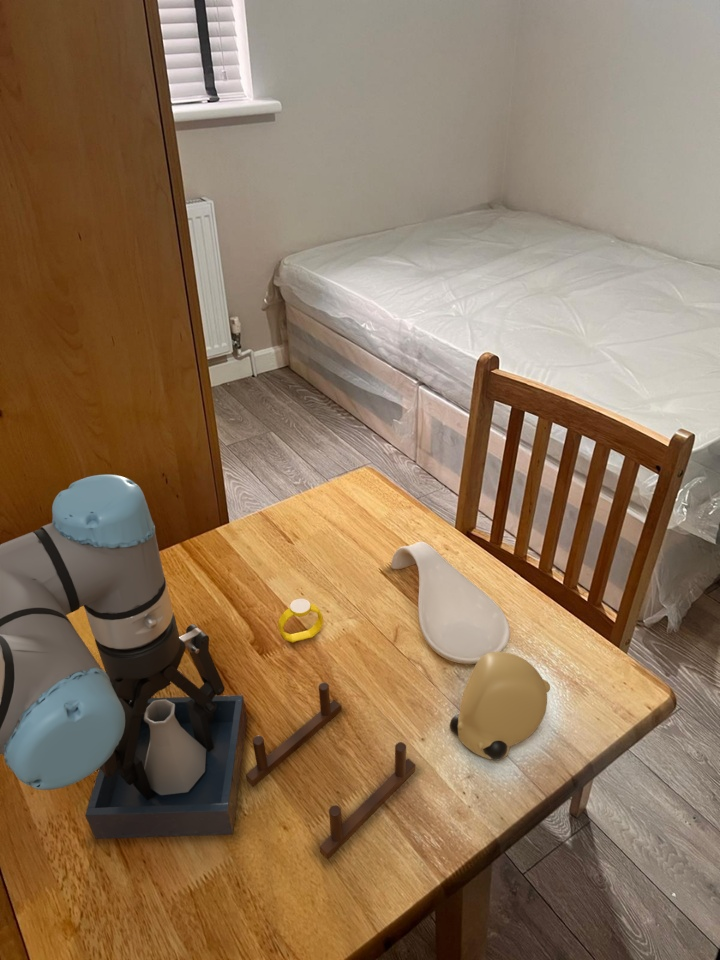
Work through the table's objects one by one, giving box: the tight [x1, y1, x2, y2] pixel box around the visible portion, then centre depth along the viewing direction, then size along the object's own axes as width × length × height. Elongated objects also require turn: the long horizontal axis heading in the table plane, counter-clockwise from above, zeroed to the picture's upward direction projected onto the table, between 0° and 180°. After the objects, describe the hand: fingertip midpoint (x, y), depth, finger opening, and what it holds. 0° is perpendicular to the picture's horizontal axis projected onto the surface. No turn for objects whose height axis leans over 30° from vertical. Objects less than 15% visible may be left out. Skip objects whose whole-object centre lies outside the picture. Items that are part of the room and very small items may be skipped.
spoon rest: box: [390, 541, 511, 665], centre depth 101 cm, size 24×12×7 cm, turn 25°
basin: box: [85, 694, 248, 840], centre depth 82 cm, size 15×15×5 cm
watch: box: [277, 598, 324, 643], centre depth 99 cm, size 6×3×6 cm, turn 111°
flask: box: [144, 699, 206, 795], centre depth 80 cm, size 7×7×10 cm
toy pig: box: [449, 651, 551, 761], centre depth 85 cm, size 10×12×11 cm
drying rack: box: [245, 681, 416, 860], centre depth 81 cm, size 14×13×6 cm
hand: (174, 766), depth 82 cm, fingers closed on flask, 7 cm apart
